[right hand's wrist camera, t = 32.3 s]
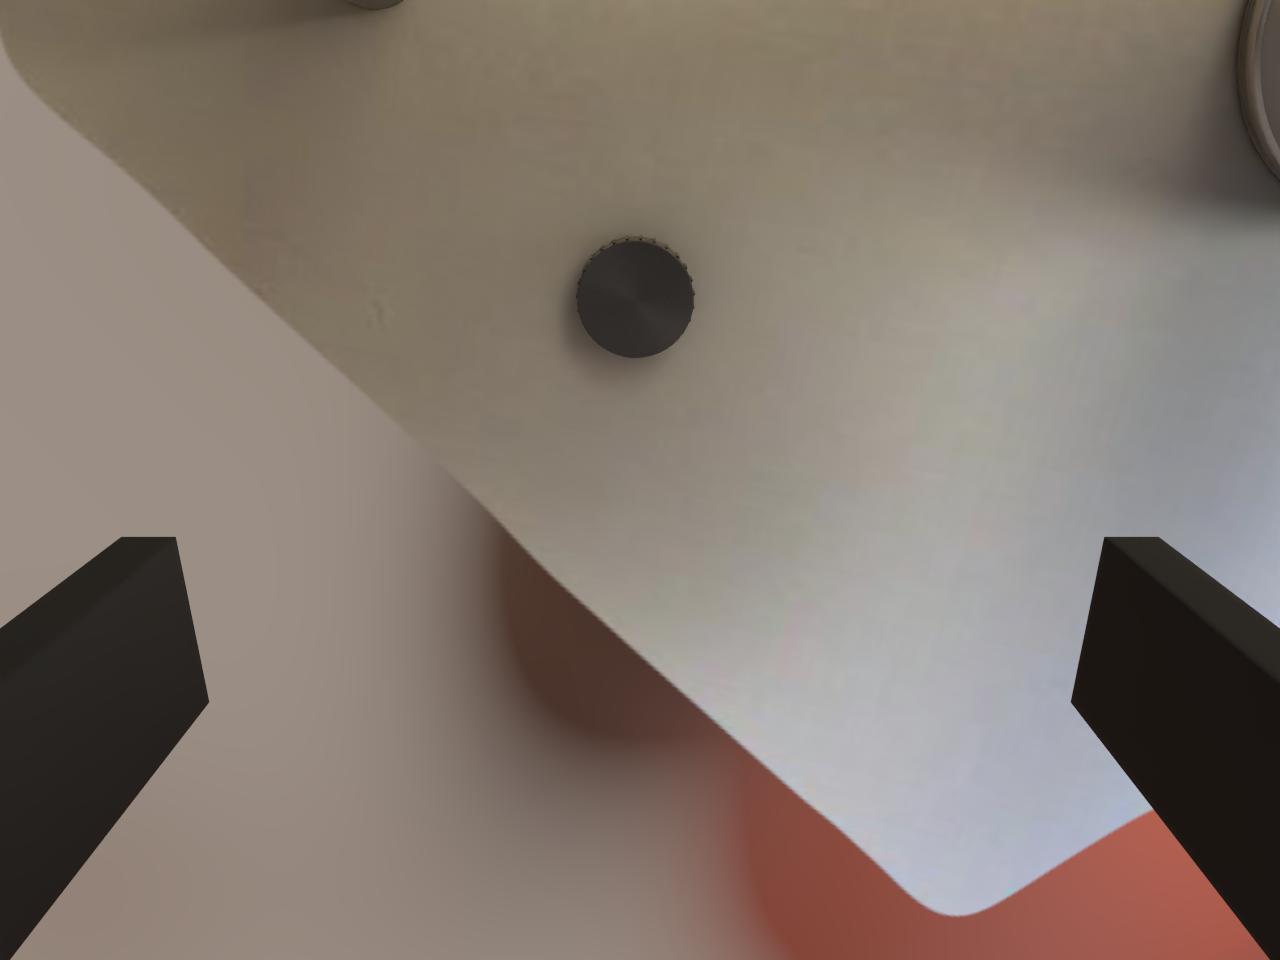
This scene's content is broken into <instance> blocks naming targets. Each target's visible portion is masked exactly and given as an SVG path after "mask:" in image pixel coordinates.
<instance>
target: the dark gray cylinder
mask: <svg viewBox="0 0 1280 960" xmlns="http://www.w3.org/2000/svg"><path fill="white" fill-rule="evenodd" d="M345 1H347V2H349V3H351V4H353V5H355V6H358V7H361V8H366V9H384V8H388V7H391V6H394V5H396V4H398V3H399V2H401V1H403V0H345Z"/></svg>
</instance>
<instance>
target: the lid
mask: <svg viewBox="0 0 1280 960" xmlns="http://www.w3.org/2000/svg"><path fill="white" fill-rule="evenodd" d="M686 269H687V266H686V264H685V263H684V264H683V263H682V261H681V260H680V258H679V255H678V253H677V252H676V253H674V252H673V251H672V250H671V249H669V248H668V245H667V244H665V245H663V244H662V243H659V242H657V241H656V240H655V238H653V240H652V239H648V238H642V236H641V235H640V237H629V236H626V238H623V239H620V240H617V241H616V240H615V239H614V240H613V242H612V243H610V244H608V245H606V246H605V247H604V246H602V247H601V249H600V251H598V252H597V253H596V254H595V255H592V256H591V258H590V262H589V263H588V265H587V267H586V266H585V267H584V269H583V272H584V273H583V276H582V278H581V279H580V280H579V282H578V285H579V288H578V293H577V296H576V298H578V312H579V314H580V317H581V320H582V324H583V325H584V327H585V328H586V330H587V332H588V333H589V335H590V336H591V337H592V338H593V339H594V340H595V341H596V342H597V343H598V344H599V345H600V346H602V347H603V348H605V349H606V350H608V351H610V352H612V353H614V354H617V355H620V356H624V357H631V358H640V357H647V356H651V355H655V354H657V353H660V352H662V351H663V350H665V349H667V348H668V347H670V346H671V345H672V344H674V343H675V342H676V341H677V340H678V339H679V337H680V336H681V335H682V334H683V333H684V331H685V329H686V327H687V325H688V323H689V322H690V320H691V319H690V318H691V315H692V311H693V309H694V304H693V303H694V295H695V292H694V290H693V288H692V284H691V282H692V278H691V275H690V276H689V275H688V272H687V270H686Z"/></svg>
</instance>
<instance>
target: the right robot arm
mask: <svg viewBox="0 0 1280 960" xmlns="http://www.w3.org/2000/svg"><path fill="white" fill-rule="evenodd" d="M1237 76H1238V92H1239V98H1240V104H1241V110H1242V114H1243V117H1244V121H1245V125H1246V127H1247V130H1248V132H1249V135H1250V137H1251V140H1252V142H1253V144H1254V146H1255V148H1256V150H1257V151H1258V153H1259V155H1260V157H1261V158H1262V159H1263V161H1264V162H1265V164H1266V165H1267V166H1268V168H1269V169H1270V170H1271V171H1272V172H1273V173H1274V175H1275V176H1276V177H1277V178H1278V179H1279V180H1280V0H1249V1H1248V5H1247V8H1246V11H1245V15H1244V20H1243V24H1242V29H1241V34H1240V42H1239V50H1238V68H1237ZM208 703H209V699H208V694H207V689H206V684H205V679H204V674H203V669H202V664H201V660H200V655H199V650H198V645H197V640H196V635H195V630H194V625H193V620H192V615H191V610H190V605H189V600H188V596H187V591H186V586H185V581H184V576H183V571H182V566H181V561H180V556H179V551H178V546H177V541H176V537H121V538H119V539H118V540H117V541H115V542H114V543H113V544H112V545H110V546H109V547H108V548H106V549H105V550H104V551H102V552H101V553H100V554H98V555H97V556H96V557H94V558H93V559H92V560H90V561H89V562H88V563H86V564H85V565H84V566H82V567H81V568H80V569H78V570H77V571H76V572H74V573H73V574H72V575H71V576H69V577H68V578H67V579H65V580H64V581H63V582H61V583H60V584H59V585H57V586H56V587H55V588H53V589H52V590H51V591H49V592H48V593H47V594H45V595H44V596H43V597H41V598H40V599H39V600H37V601H36V602H35V603H33V604H32V605H31V606H29V607H28V608H27V609H26V610H24V611H23V612H21V613H20V614H19V615H17V616H16V617H15V618H13V619H12V620H11V621H10V622H8V623H7V624H6V625H4V626H3V627H2V628H0V960H10V959H11V958H12V956H13V955H14V954H15V952H16V951H17V950H18V949H19V947H20V946H21V945H22V943H23V942H24V941H25V940H26V938H27V937H28V936H29V934H30V933H31V932H32V931H33V929H34V928H35V927H36V925H37V924H38V923H39V921H40V920H41V919H42V918H43V916H44V915H45V914H46V912H47V911H48V910H49V909H50V907H51V906H52V905H53V903H54V902H55V901H56V899H57V898H58V897H59V896H60V894H61V893H62V892H63V890H64V889H65V888H66V887H67V885H68V884H69V883H70V881H71V880H72V879H73V878H74V876H75V875H76V874H77V872H78V871H79V870H80V868H81V867H82V866H83V865H84V863H85V862H86V861H87V859H88V858H89V857H90V856H91V854H92V853H93V852H94V850H95V849H96V848H97V846H98V845H99V844H100V843H101V841H102V840H103V839H104V837H105V836H106V835H107V834H108V832H109V831H110V830H111V828H112V827H113V826H114V825H115V823H116V822H117V821H118V819H119V818H120V817H121V815H122V814H123V813H124V812H125V810H126V809H127V808H128V806H129V805H130V804H131V802H132V801H133V800H134V799H135V797H136V796H137V795H138V794H139V792H140V791H141V790H142V788H143V787H144V786H145V784H146V783H147V782H148V781H149V779H150V778H151V777H152V775H153V774H154V773H155V772H156V770H157V769H158V768H159V766H160V765H161V764H162V763H163V761H164V760H165V759H166V757H167V756H168V755H169V753H170V752H171V751H172V750H173V748H174V747H175V746H176V744H177V743H178V742H179V741H180V739H181V738H182V737H183V735H184V734H185V733H186V731H187V730H188V729H189V728H190V726H191V725H192V724H193V722H194V721H195V720H196V718H197V717H198V716H199V715H200V713H201V712H202V711H203V710H204V708H205V707H206V706H207V704H208ZM1071 703H1072V704H1073V706H1074V707H1075V708H1076V710H1077V711H1078V712H1079V713H1080V715H1081V716H1082V717H1083V719H1084V720H1085V721H1086V722H1087V724H1088V725H1089V726H1090V728H1091V729H1092V730H1093V731H1094V733H1095V734H1096V735H1097V737H1098V738H1099V739H1100V741H1101V742H1102V743H1103V744H1104V746H1105V747H1106V748H1107V750H1108V751H1109V752H1110V753H1111V755H1112V756H1113V757H1114V759H1115V760H1116V761H1117V763H1118V764H1119V765H1120V766H1121V768H1122V769H1123V770H1124V772H1125V773H1126V774H1127V775H1128V777H1129V778H1130V779H1131V781H1132V782H1133V783H1134V784H1135V786H1136V787H1137V788H1138V790H1139V791H1140V792H1141V794H1142V795H1143V796H1144V797H1145V799H1146V800H1147V801H1148V803H1149V804H1150V805H1151V806H1152V808H1153V809H1154V810H1155V812H1156V813H1157V814H1158V815H1159V817H1160V818H1161V819H1162V821H1163V822H1164V823H1165V825H1166V826H1167V827H1168V828H1169V830H1170V831H1171V832H1172V834H1173V835H1174V836H1175V837H1176V839H1177V840H1178V841H1179V843H1180V844H1181V845H1182V846H1183V848H1184V849H1185V850H1186V852H1187V853H1188V854H1189V856H1190V857H1191V858H1192V859H1193V861H1194V862H1195V863H1196V865H1197V866H1198V867H1199V868H1200V870H1201V871H1202V872H1203V874H1204V875H1205V876H1206V877H1207V879H1208V880H1209V881H1210V883H1211V884H1212V885H1213V887H1214V888H1215V889H1216V890H1217V892H1218V893H1219V894H1220V896H1221V897H1222V898H1223V900H1224V901H1225V902H1226V903H1227V905H1228V906H1229V907H1230V909H1231V910H1232V911H1233V912H1234V914H1235V915H1236V916H1237V918H1238V919H1239V920H1240V921H1241V923H1242V924H1243V925H1244V927H1245V928H1246V929H1247V930H1248V932H1249V933H1250V934H1251V936H1252V937H1253V938H1254V940H1255V941H1256V942H1257V943H1258V945H1259V946H1260V947H1261V949H1262V950H1263V951H1264V952H1265V954H1266V955H1267V956H1268V958H1269V959H1270V960H1280V628H1278V627H1277V626H1276V625H1274V624H1273V623H1272V622H1270V621H1269V620H1268V619H1267V618H1265V617H1264V616H1263V615H1261V614H1260V613H1259V612H1257V611H1256V610H1255V609H1253V608H1252V607H1251V606H1249V605H1248V604H1247V603H1245V602H1244V601H1243V600H1241V599H1240V598H1239V597H1237V596H1236V595H1235V594H1233V593H1232V592H1231V591H1229V590H1228V589H1227V588H1225V587H1224V586H1223V585H1221V584H1220V583H1219V582H1218V581H1216V580H1215V579H1214V578H1212V577H1211V576H1210V575H1208V574H1207V573H1206V572H1204V571H1203V570H1202V569H1200V568H1199V567H1198V566H1196V565H1195V564H1194V563H1192V562H1191V561H1190V560H1188V559H1187V558H1186V557H1184V556H1183V555H1182V554H1180V553H1179V552H1178V551H1176V550H1175V549H1174V548H1172V547H1171V546H1170V545H1169V544H1167V543H1166V542H1165V541H1163V540H1162V539H1161V538H1159V537H1104V541H1103V546H1102V551H1101V556H1100V561H1099V566H1098V571H1097V576H1096V581H1095V586H1094V591H1093V595H1092V600H1091V605H1090V610H1089V615H1088V620H1087V625H1086V630H1085V635H1084V640H1083V645H1082V650H1081V655H1080V659H1079V664H1078V669H1077V674H1076V679H1075V684H1074V689H1073V694H1072V699H1071Z"/></svg>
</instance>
